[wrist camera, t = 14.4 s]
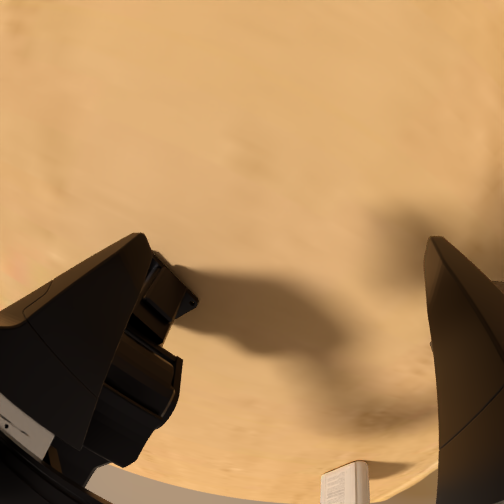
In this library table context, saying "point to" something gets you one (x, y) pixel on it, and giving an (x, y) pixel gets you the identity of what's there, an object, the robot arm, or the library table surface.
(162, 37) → the library table surface
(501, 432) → the robot arm
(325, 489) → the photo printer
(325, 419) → the library table surface
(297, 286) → the library table surface
